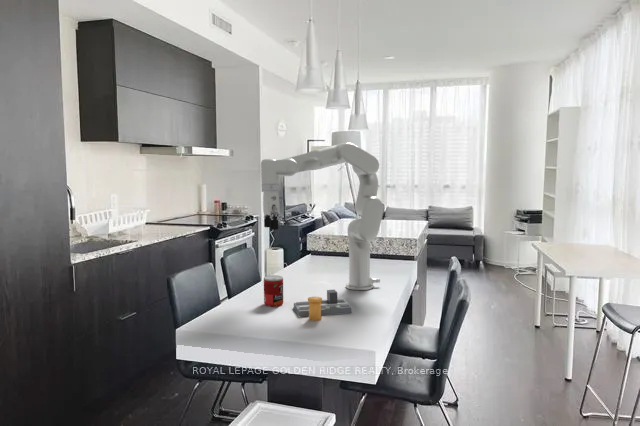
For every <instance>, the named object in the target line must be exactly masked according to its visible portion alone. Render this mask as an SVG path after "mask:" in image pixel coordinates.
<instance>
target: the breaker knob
mask: <svg viewBox="0 0 640 426" xmlns="http://www.w3.org/2000/svg"><path fill="white" fill-rule="evenodd" d="M337 299H338V291H337V290H336V289H326V300H327V303H328V304H337Z"/></svg>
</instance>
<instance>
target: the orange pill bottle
mask: <svg viewBox="0 0 640 426" xmlns="http://www.w3.org/2000/svg"><path fill="white" fill-rule="evenodd" d="M322 300H323V297H321V296H309V297H308V298H307V301H308V302H309V316H308V320H309V321H311V322H318V321H321V320H322V315H321V301H322Z"/></svg>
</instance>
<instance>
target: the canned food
mask: <svg viewBox="0 0 640 426" xmlns="http://www.w3.org/2000/svg"><path fill="white" fill-rule="evenodd" d="M263 303H264V305H265V306H267V307H272V308H273V307H280V306H282V305H283V304H284V277H283V276H281V275H276V274H273V275H271V274H270V275H266V276H264V277H263Z"/></svg>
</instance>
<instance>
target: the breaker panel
mask: <svg viewBox="0 0 640 426" xmlns="http://www.w3.org/2000/svg"><path fill="white" fill-rule="evenodd" d="M293 309H294V310H295V312H296V314H297V315H298V317H300V318H301V317H309V302H308V300H301V301H300V300H299V301H295V302H293ZM352 309H353V308H352V306H351V305H350V304H349V302H346V301H345V299H344V298H337V304H328V303H327V299H322V301H321V316H327V315H329V316H330V315H338V314H339V315H342V314H352V312H353V310H352Z"/></svg>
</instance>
